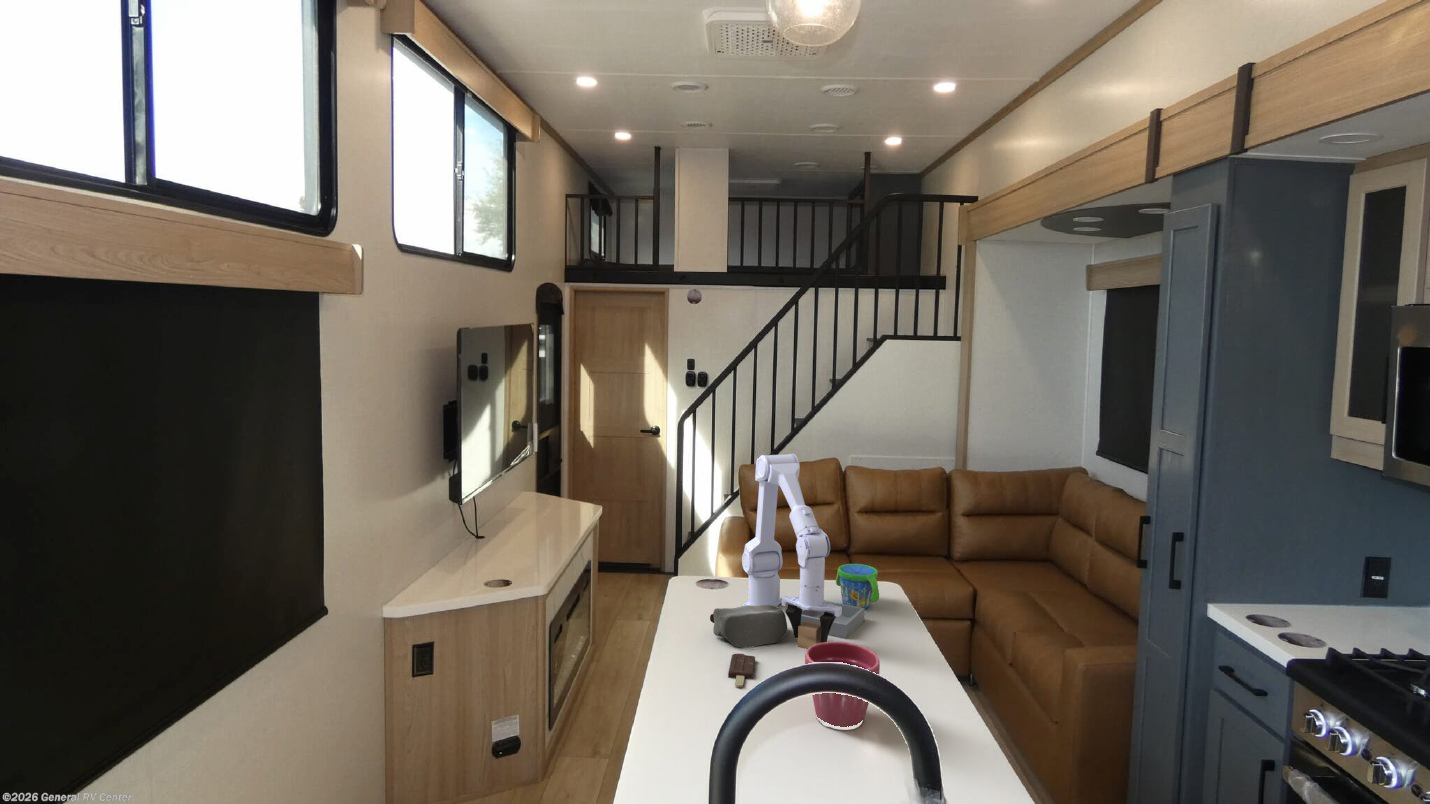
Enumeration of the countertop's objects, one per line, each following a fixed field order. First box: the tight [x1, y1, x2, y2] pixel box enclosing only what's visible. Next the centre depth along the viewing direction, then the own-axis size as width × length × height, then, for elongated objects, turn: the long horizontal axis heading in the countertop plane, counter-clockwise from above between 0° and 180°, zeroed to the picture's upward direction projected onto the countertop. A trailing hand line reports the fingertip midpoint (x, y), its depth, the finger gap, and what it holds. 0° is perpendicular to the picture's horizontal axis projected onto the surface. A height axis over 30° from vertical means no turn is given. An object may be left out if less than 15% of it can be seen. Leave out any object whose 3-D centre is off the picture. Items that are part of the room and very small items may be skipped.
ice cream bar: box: [727, 653, 756, 688], centre depth 173 cm, size 5×2×15 cm
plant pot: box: [804, 641, 881, 727], centre depth 152 cm, size 14×14×13 cm
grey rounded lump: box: [709, 605, 788, 649], centre depth 192 cm, size 18×11×8 cm, turn 106°
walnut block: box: [797, 621, 821, 649], centre depth 188 cm, size 4×4×5 cm
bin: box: [801, 599, 866, 640], centre depth 201 cm, size 14×14×4 cm
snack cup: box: [835, 563, 880, 610], centre depth 215 cm, size 16×10×10 cm
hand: (810, 639), depth 188 cm, fingers open, 6 cm apart
